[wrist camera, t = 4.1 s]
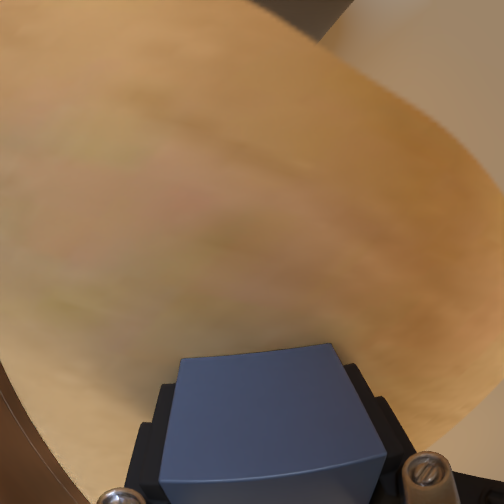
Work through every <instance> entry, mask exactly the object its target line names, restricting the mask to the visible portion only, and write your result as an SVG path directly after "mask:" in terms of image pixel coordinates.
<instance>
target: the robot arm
mask: <svg viewBox="0 0 504 504" xmlns="http://www.w3.org/2000/svg"><path fill="white" fill-rule="evenodd" d="M343 367H344V369H345V371H346V373H347V375H348V377H349V379H350V381H351V382H352V384H353V386H354V388H355V390H356V392H357V394H358V396H359V398H360V400H361V402H362V404H363V406H364V408H365V410H366V412H367V414H368V416H369V418H370V420H371V422H372V424H373V426H374V428H375V429H376V431H377V433H378V435H379V437H380V439H381V441H382V443H383V445H384V448H385V450H386V452H387V456H386V459H385V462H384V465H383V468H382V471H381V473H380V476H379V479H378V481H377V484H376V487H375V489H374V492H373V494H372V497H371V499H370V502H369V504H504V482H501V481H496V480H491V479H486V478H480V477H476V476H471V475H466V474H462V473H458V472H454V471H452V469H451V466H450V464H449V462H448V460H447V459H446V458H445V457H444V456H442V455H441V454H439V453H436V452H431V451H422V452H419V453H417V452H416V450H415V449H414V447H413V445H412V443H411V442H410V440H409V438H408V437H407V435H406V433H405V431H404V430H403V428H402V426H401V425H400V423H399V421H398V420H397V418H396V416H395V414H394V413H393V411H392V409H391V408H390V406H389V404H388V403H387V401H386V400H385V398H384V397H382V396H379V397H374V395H373V394H372V392H371V390H370V388H369V387H368V385H367V383H366V381H365V380H364V378H363V376H362V374H361V373H360V371H359V369H358V367H357V366H356V364H354V363H353V364H348V365H343ZM175 386H176V384H162V385H161V388H160V392H159V396H158V400H157V404H156V408H155V412H154V416H153V420H152V423H151V422H143V423H142V424H141V425H140V428H139V431H138V435H137V439H136V442H135V446H134V450H133V454H132V458H131V462H130V465H129V469H128V473H127V477H126V481H125V486H124V488H121V487H119V488H114V489H111V490H109V491H106V492H105V493H104V494H103V495H101V496H100V498H99V499H98V501H97V504H171V503H170V501H169V499H168V498H167V496H166V494H165V492H164V491H163V489H162V487H161V485H160V483H159V481H158V479H159V473H160V467H161V461H162V455H163V450H164V444H165V438H166V433H167V427H168V422H169V417H170V412H171V406H172V401H173V396H174V391H175Z"/></svg>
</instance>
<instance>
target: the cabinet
mask: <svg viewBox="0 0 504 504" xmlns="http://www.w3.org/2000/svg"><path fill="white" fill-rule="evenodd" d="M0 504H90V503H89V502H88V501H87V500H86V498H85V497H84V496H83V495H82V494H81V492H80V491H79V490H78V489H77V487H76V486H75V485H74V484H73V482H72V481H71V480H70V479H69V477H68V476H67V475H66V473H65V472H64V471H63V469H62V468H61V466H60V465H59V464H58V462H57V461H56V459H55V458H54V457H53V455H52V454H51V452H50V451H49V449H48V448H47V446H46V445H45V443H44V442H43V440H42V439H41V437H40V435H39V434H38V432H37V431H36V429H35V427H34V426H33V424H32V422H31V421H30V419H29V417H28V416H27V414H26V412H25V410H24V409H23V407H22V405H21V403H20V401H19V400H18V398H17V396H16V394H15V392H14V390H13V388H12V386H11V384H10V382H9V380H8V378H7V376H6V374H5V372H4V370H3V367H2V365H1V363H0Z"/></svg>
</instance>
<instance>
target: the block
mask: <svg viewBox="0 0 504 504" xmlns="http://www.w3.org/2000/svg"><path fill="white" fill-rule="evenodd" d="M386 456H387V452H386V450H385V448H384V445H383V443H382V441H381V439H380V437H379V435H378V433H377V431H376V429H375V428H374V426H373V424H372V422H371V420H370V418H369V416H368V414H367V412H366V410H365V408H364V406H363V404H362V402H361V400H360V398H359V396H358V394H357V392H356V390H355V388H354V386H353V384H352V382H351V381H350V379H349V377H348V375H347V373H346V371H345V369H344V367H343V365H342V363H341V361H340V359H339V358H338V356H337V354H336V352H335V350H334V348H333V346H332V344H331V343H327V344H320V345H313V346H307V347H299V348H292V349H284V350H276V351H267V352H258V353H248V354H238V355H227V356H215V357H201V358H184V359H181V362H180V366H179V371H178V376H177V381H176V386H175V391H174V396H173V401H172V406H171V412H170V417H169V422H168V427H167V433H166V438H165V444H164V450H163V455H162V461H161V467H160V473H159V479H158V481H159V483H160V485H161V487H162V489H163V491H164V492H165V494H166V496H167V498H168V499H169V501H170V503H171V504H369V502H370V499H371V497H372V494H373V492H374V489H375V487H376V484H377V481H378V479H379V476H380V473H381V471H382V468H383V465H384V462H385V459H386Z"/></svg>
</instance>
